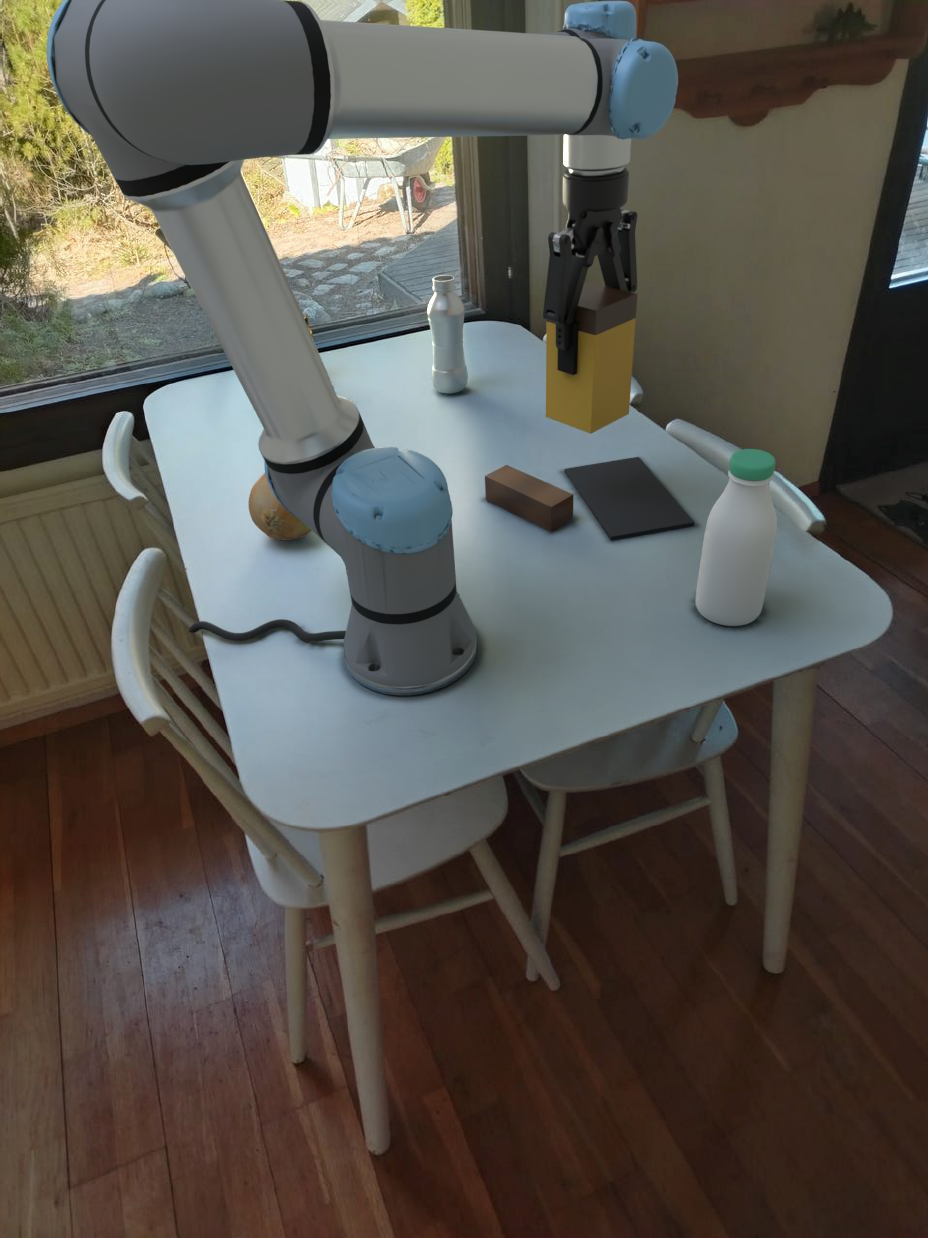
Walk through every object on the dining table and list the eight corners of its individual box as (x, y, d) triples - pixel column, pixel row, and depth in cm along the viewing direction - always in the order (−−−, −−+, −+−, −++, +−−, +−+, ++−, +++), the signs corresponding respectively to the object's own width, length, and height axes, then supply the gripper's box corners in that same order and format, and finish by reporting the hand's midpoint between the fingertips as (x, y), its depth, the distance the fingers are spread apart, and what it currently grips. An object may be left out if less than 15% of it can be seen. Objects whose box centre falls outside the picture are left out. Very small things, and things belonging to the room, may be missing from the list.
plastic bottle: (428, 386, 158) (419, 275, 146) (463, 380, 160) (456, 270, 147) (437, 400, 153) (428, 286, 141) (473, 393, 155) (467, 280, 142)
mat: (610, 540, 115) (610, 536, 114) (564, 472, 130) (564, 468, 130) (694, 525, 116) (694, 522, 116) (638, 459, 132) (638, 456, 131)
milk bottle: (763, 630, 98) (795, 476, 86) (694, 625, 100) (716, 473, 87) (759, 591, 104) (788, 441, 92) (694, 586, 105) (714, 439, 93)
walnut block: (485, 500, 125) (484, 475, 122) (507, 488, 127) (506, 464, 125) (551, 532, 117) (551, 507, 115) (573, 519, 119) (573, 494, 117)
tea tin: (583, 398, 120) (629, 413, 116) (545, 416, 116) (590, 433, 111) (588, 281, 111) (637, 293, 106) (546, 297, 106) (596, 310, 102)
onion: (251, 556, 116) (234, 493, 110) (262, 518, 124) (247, 457, 118) (321, 552, 116) (309, 488, 110) (328, 514, 124) (317, 452, 118)
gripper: (627, 148, 105) (617, 331, 119) (508, 182, 94) (513, 379, 108) (677, 154, 100) (661, 344, 114) (559, 190, 90) (557, 394, 104)
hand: (589, 360), depth 111 cm, fingers closed on tea tin, 8 cm apart
